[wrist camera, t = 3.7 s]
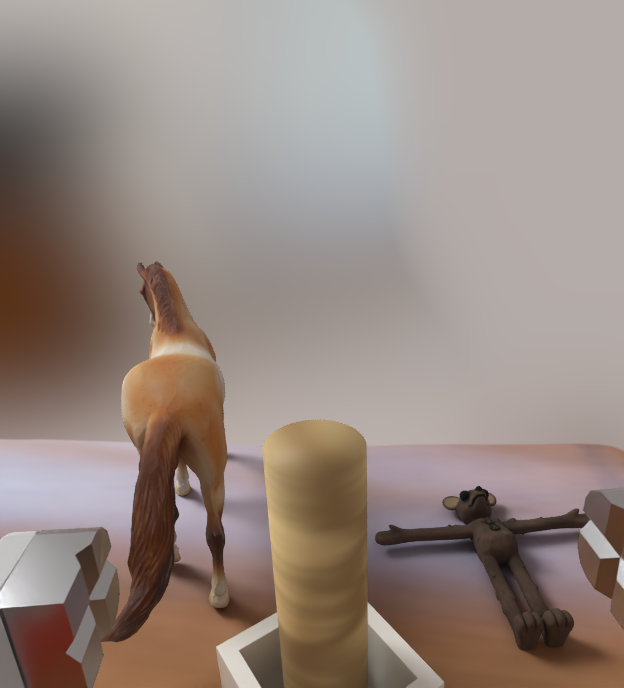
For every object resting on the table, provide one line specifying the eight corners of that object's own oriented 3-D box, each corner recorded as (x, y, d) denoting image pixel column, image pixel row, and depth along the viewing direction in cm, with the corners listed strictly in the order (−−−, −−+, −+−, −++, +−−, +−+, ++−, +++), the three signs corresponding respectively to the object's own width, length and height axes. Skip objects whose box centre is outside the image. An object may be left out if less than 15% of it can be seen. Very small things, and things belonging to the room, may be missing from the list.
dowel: (317, 792, 26) (297, 491, 20) (273, 718, 30) (244, 440, 23) (385, 738, 29) (388, 451, 22) (336, 675, 32) (326, 410, 26)
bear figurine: (406, 635, 33) (365, 475, 45) (403, 677, 34) (365, 512, 47) (689, 607, 34) (570, 458, 46) (670, 650, 35) (561, 495, 48)
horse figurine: (167, 438, 60) (137, 257, 53) (236, 430, 61) (217, 251, 54) (114, 712, 32) (32, 404, 24) (246, 689, 33) (207, 386, 25)
